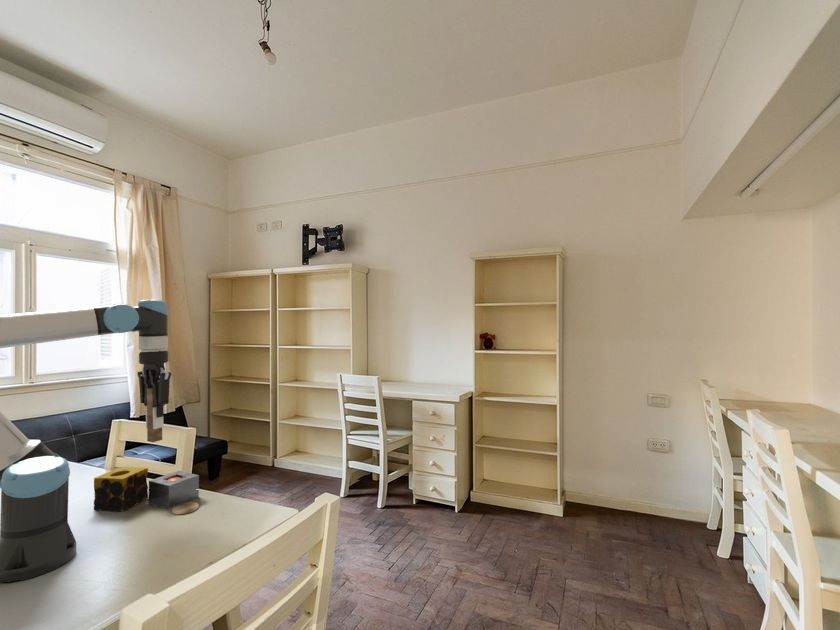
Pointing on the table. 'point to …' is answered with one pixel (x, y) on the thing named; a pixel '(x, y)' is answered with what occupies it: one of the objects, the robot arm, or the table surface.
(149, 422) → the dowel
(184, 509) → the coaster
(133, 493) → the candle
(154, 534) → the table surface
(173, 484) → the box
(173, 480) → the orange ball
